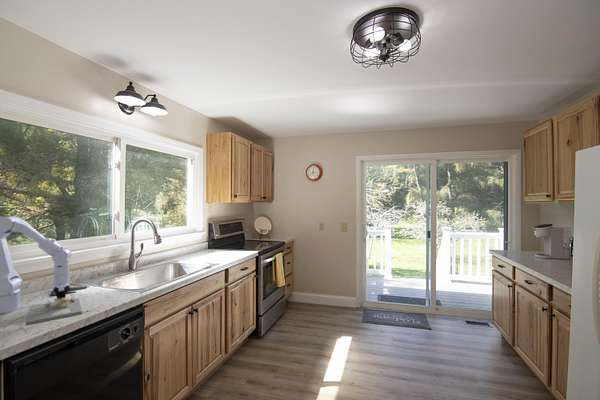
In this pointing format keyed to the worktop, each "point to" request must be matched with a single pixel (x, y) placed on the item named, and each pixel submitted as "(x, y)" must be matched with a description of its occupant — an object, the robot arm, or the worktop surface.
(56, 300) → the birch block
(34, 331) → the worktop surface
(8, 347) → the worktop surface
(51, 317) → the slate board
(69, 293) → the door handle
